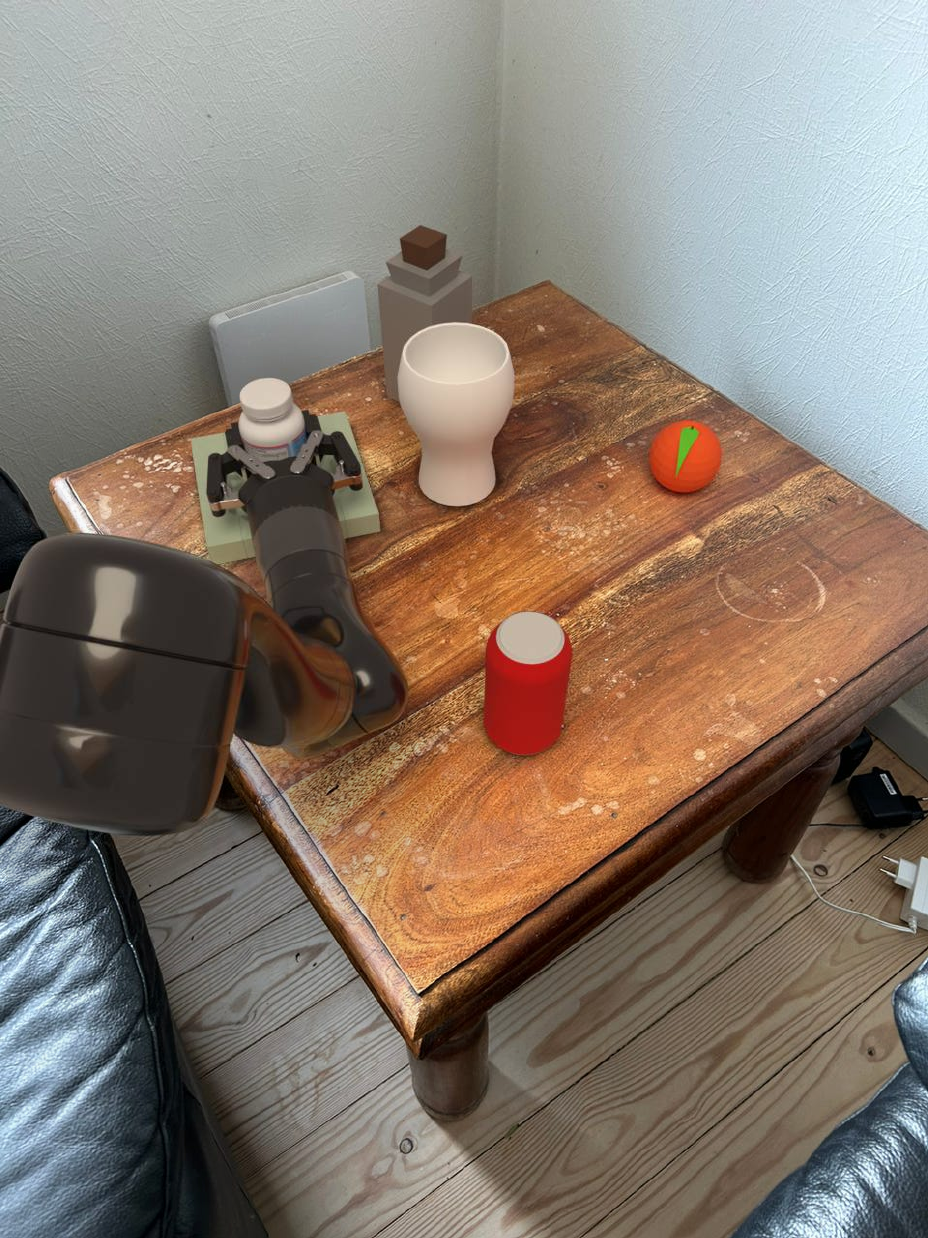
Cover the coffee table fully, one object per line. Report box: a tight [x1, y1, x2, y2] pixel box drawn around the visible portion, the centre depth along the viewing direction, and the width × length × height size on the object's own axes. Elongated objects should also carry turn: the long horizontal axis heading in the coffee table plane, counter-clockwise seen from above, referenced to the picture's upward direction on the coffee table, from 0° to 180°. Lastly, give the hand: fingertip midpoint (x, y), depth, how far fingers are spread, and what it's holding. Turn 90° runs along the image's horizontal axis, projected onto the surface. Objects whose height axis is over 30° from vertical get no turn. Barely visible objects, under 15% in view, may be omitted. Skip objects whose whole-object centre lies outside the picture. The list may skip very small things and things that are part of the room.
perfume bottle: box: [376, 224, 473, 403], centre depth 95 cm, size 7×7×18 cm
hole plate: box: [190, 410, 381, 565], centre depth 91 cm, size 16×16×2 cm
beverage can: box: [483, 610, 573, 756], centre depth 69 cm, size 6×6×12 cm
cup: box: [397, 322, 516, 507], centre depth 87 cm, size 11×11×15 cm
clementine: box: [648, 420, 723, 493], centre depth 89 cm, size 8×7×7 cm
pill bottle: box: [238, 377, 308, 462], centre depth 87 cm, size 6×6×11 cm
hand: (270, 423), depth 88 cm, fingers closed on pill bottle, 6 cm apart
